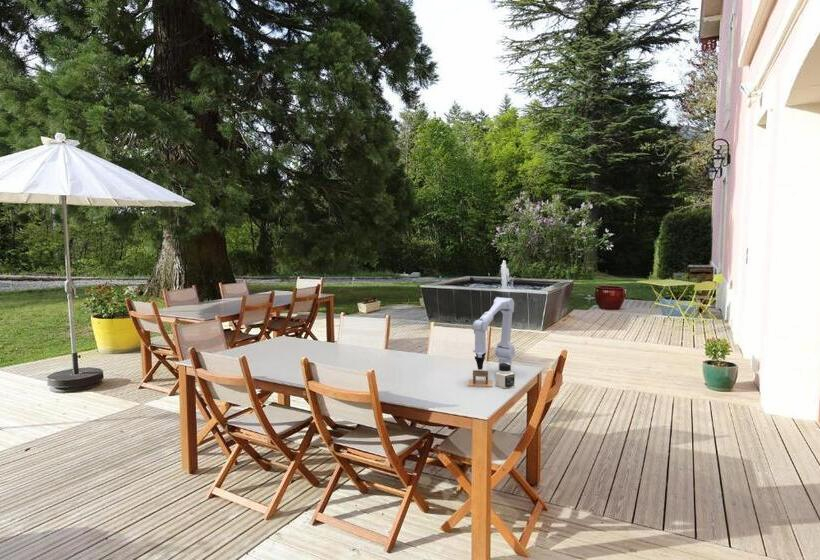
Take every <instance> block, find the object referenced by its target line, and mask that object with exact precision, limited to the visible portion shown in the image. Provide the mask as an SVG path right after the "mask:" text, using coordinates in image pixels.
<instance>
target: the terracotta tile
mask: <svg viewBox="0 0 820 560" xmlns="http://www.w3.org/2000/svg"><path fill="white" fill-rule="evenodd" d="M467 381H468V382H467V387H474V386H481V387H482V388H493V383H494V380H493V379H488V384H486V379H476V382H475V384H473V378H472V379H468V380H467ZM481 387H480V388H481Z"/></svg>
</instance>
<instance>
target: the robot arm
mask: <svg viewBox="0 0 820 560" xmlns="http://www.w3.org/2000/svg"><path fill="white" fill-rule="evenodd" d="M498 312H501V314H502V322H501V335H500V336H501V337H500V341H499V342H498V343H496V348H495V351H494V352H495V355H496V357H497V359H498V366H499V365H500V364H501V363H508V364H510V365H511V366H512V360H513V358H514V357H515V355H516V354H515V353H516V351H515V345H514V344H513V343H512V342H511V335H512V323H513V322H512V321H513V313H514V312H515V301H514V299H513V298H512V297H500V296H495V298H494V300H493V304H492V306H491V307H490V309H489V310H488V311H485V312H484V313H483V314H482V315H481V316H480V317H479V318H478V319H475V320H474V321H473V324H472V331H473V334H474V349H472V353H475V355H474V359H475V362H476V367H477V370H481V371H483V367H484V362H485V360H486V354H487V345H486V344H487V342H486V341H487V340H486V339H487V336H486V335H487V333H486V332H487V331H488V329H489V327H490V323H491V322H492V321H493V320H494V316H495V315H496V314H497V313H498ZM497 372H499V369H498V370H497ZM511 372H512V373H513V370H511Z"/></svg>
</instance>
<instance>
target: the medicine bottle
mask: <svg viewBox="0 0 820 560" xmlns="http://www.w3.org/2000/svg"><path fill="white" fill-rule="evenodd" d="M498 370H499V372H498V371H497V372H495V386H496V387H499V388H501V387H502V388H501V389H504V388H505V389H510V388H513V387H512V386H514V387H515V373H514V372H513V371H512V364H511V365H510V364H508V363H501V364H500V365H499V364H498ZM511 371H512V372H511ZM509 387H510V388H509ZM505 389H504V390H505Z"/></svg>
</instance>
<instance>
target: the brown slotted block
mask: <svg viewBox="0 0 820 560" xmlns="http://www.w3.org/2000/svg"><path fill="white" fill-rule="evenodd" d="M477 377H480V378H483V377H484V378H485V380H486V384H488V380H489V370H478V369H473V370H472V379H473V384H475V382H476V380H477Z"/></svg>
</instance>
